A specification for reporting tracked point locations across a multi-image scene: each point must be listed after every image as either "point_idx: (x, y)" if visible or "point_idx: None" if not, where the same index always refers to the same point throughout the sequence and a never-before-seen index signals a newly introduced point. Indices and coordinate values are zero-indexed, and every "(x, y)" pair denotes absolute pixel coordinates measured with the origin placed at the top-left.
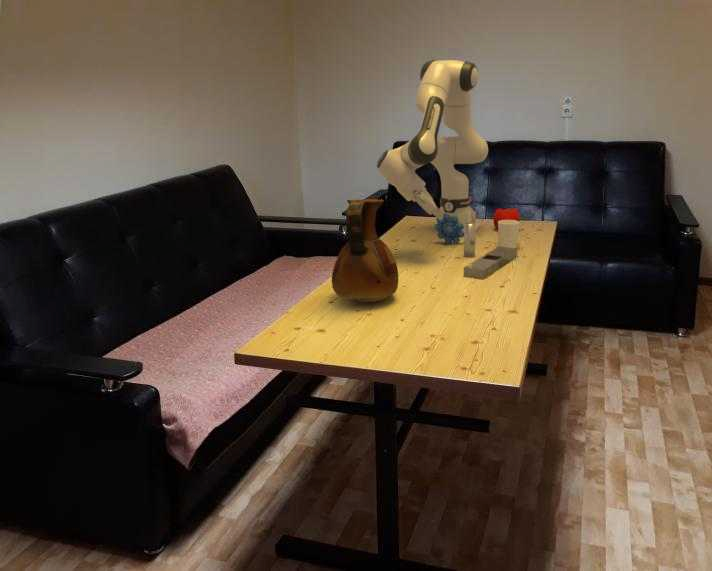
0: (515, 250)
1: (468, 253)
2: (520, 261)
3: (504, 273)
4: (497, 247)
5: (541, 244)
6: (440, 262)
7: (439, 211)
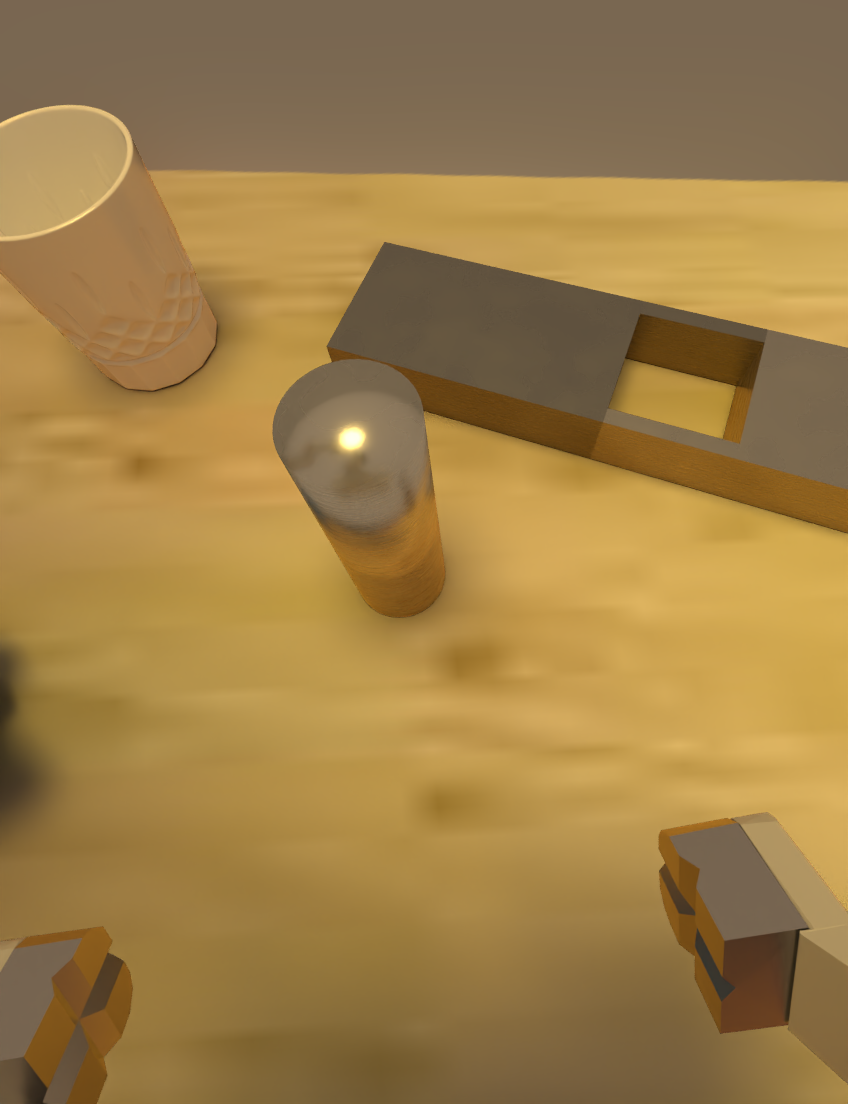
0: (420, 254)
1: (442, 567)
2: (505, 269)
3: (831, 338)
4: (359, 353)
5: None
6: (658, 814)
7: (82, 970)
